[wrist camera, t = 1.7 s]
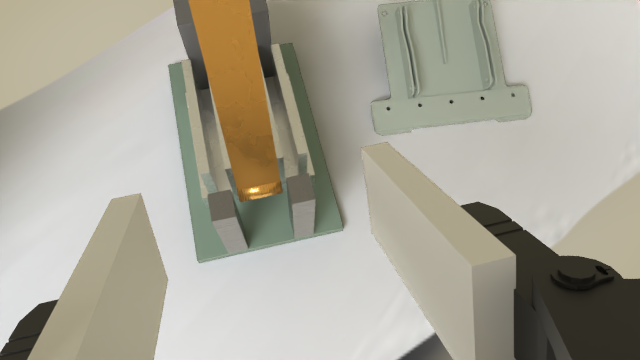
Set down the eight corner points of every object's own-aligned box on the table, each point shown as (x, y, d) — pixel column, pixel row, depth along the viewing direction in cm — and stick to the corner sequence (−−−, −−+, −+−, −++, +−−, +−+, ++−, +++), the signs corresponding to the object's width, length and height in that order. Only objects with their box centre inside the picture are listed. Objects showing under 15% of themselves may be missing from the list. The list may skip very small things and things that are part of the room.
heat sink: (326, 231, 40) (331, 195, 33) (214, 256, 39) (194, 225, 32) (288, 86, 46) (285, 29, 39) (190, 105, 45) (168, 49, 38)
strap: (280, 184, 35) (283, 197, 34) (238, 193, 35) (241, 206, 34) (240, -45, 25) (243, -36, 24) (180, -36, 25) (181, -26, 23)
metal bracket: (358, -12, 45) (515, -26, 46) (350, 17, 51) (490, 4, 52) (381, 141, 43) (543, 122, 44) (369, 153, 49) (514, 136, 50)
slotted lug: (275, 84, 46) (268, 9, 37) (202, 98, 45) (177, 25, 36) (266, 50, 48) (258, -29, 39) (196, 63, 47) (170, -15, 38)
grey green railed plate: (342, 230, 41) (343, 227, 41) (199, 263, 40) (197, 260, 39) (292, 48, 49) (292, 42, 48) (170, 69, 47) (168, 64, 47)
